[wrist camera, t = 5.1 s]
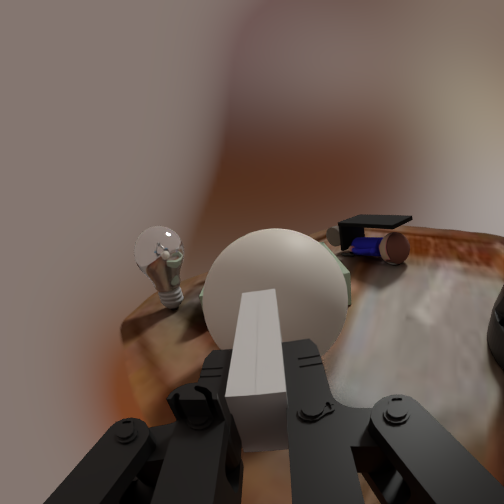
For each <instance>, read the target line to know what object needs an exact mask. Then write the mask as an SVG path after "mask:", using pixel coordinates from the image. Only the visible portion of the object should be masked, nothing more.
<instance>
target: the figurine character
mask: <svg viewBox="0 0 504 504" xmlns="http://www.w3.org/2000/svg"><path fill="white" fill-rule="evenodd" d="M411 220H412V216H401V215H400V216H399V215H357V216H355V217H352V218H349V219H346V220H343V221H341V222H338V226H334V227H331V228H329V229H328V230H327V233H326V236H327V239H328V241H329V243H330V244H331V245H333V246H339V245H341V250H342V251H344V250H347V249H349V251H350V253H342V255H344V256H354V254H355V255H365V256H380V257H382V258H383V260H384V261H385V262H387V263H389V264H392V265H397V264H400V263H402V262H404V261H405V260H406V259H407V257H408V255H409V252H410V245H409V242H408V240H407V238H406V237H405V236H404V235H402V234H400V233H397V232H393V233H389V234H387V235H386V236H385V237H384V238H377V237H365V234H364V228H380V229H395V228H397V227H399V226H401V225H403V224H405V223H407V222H409V221H411ZM353 253H354V254H353Z"/></svg>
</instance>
